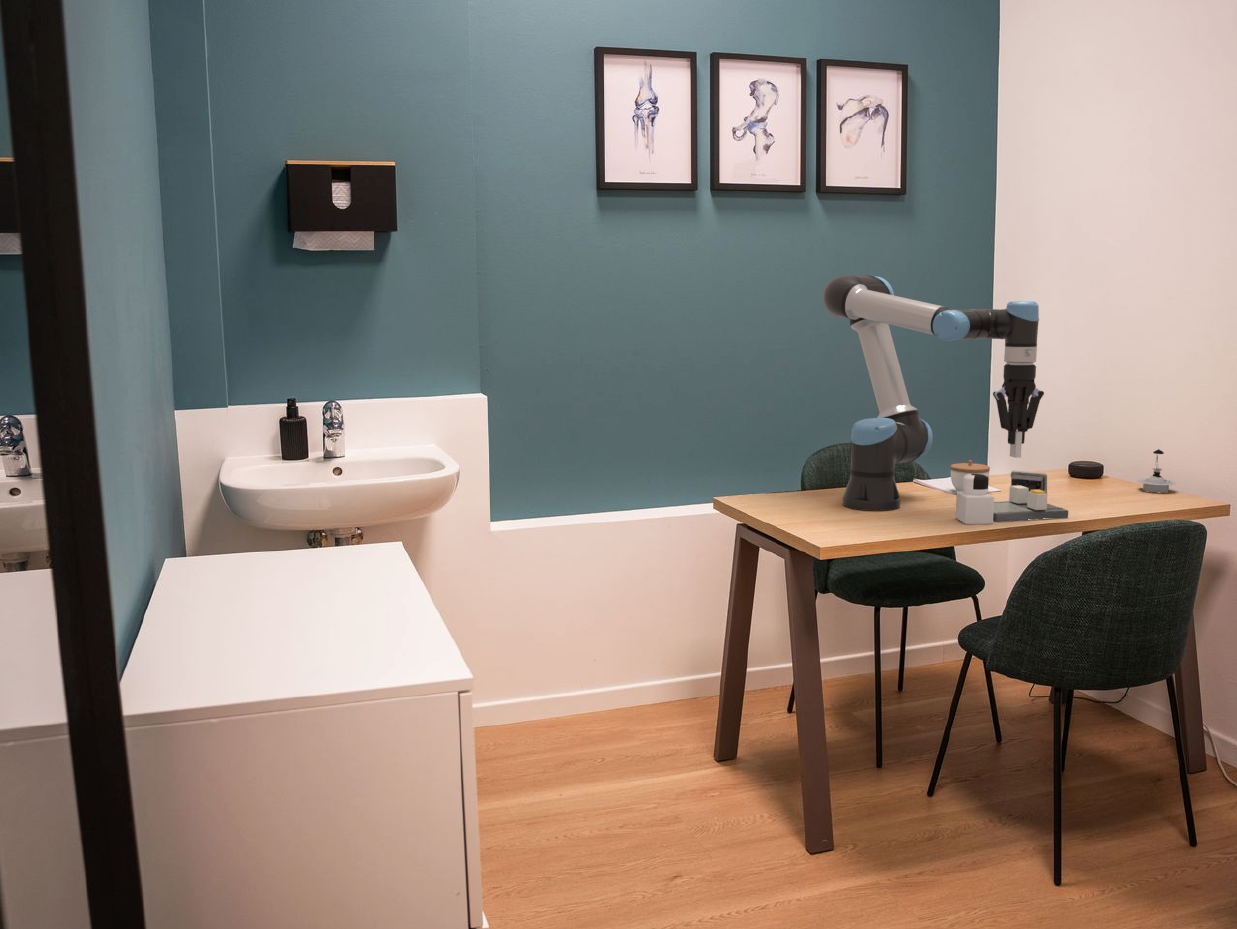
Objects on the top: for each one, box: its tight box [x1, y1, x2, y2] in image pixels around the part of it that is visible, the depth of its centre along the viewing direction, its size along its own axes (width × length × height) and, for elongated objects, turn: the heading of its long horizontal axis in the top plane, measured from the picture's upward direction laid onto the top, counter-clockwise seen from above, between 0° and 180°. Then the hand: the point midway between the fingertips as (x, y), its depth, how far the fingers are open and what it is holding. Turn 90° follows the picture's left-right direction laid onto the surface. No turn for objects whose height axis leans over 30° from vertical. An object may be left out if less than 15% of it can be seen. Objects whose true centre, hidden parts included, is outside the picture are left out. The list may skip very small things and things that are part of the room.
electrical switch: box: [1010, 470, 1048, 494], centre depth 282 cm, size 9×5×9 cm, turn 57°
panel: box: [993, 500, 1069, 523], centre depth 270 cm, size 20×14×2 cm
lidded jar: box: [950, 459, 991, 492], centre depth 299 cm, size 11×11×9 cm
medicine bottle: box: [955, 474, 995, 525], centre depth 262 cm, size 7×7×12 cm
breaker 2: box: [1027, 489, 1049, 510], centre depth 266 cm, size 3×4×5 cm
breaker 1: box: [1008, 485, 1029, 504], centre depth 274 cm, size 3×4×4 cm
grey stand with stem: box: [1136, 448, 1177, 494], centre depth 299 cm, size 12×10×10 cm
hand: (1015, 456), depth 263 cm, fingers closed
